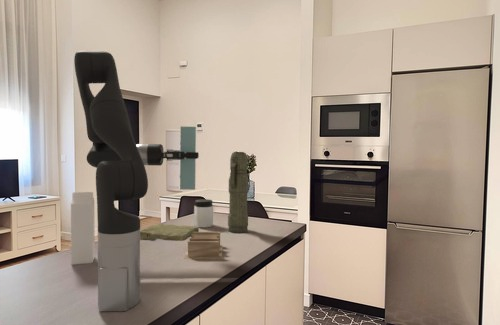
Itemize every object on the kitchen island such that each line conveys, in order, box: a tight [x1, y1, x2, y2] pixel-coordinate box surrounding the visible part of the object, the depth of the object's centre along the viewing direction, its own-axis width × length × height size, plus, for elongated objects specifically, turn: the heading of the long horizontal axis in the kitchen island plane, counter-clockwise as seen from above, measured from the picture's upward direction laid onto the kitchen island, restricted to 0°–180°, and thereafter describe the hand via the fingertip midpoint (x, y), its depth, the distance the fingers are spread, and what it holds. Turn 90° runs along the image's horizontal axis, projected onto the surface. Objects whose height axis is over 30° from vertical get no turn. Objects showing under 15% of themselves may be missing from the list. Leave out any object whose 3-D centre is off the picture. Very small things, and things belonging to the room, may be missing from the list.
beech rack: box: [184, 231, 224, 260], centre depth 118 cm, size 16×12×6 cm
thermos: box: [227, 151, 249, 234], centre depth 151 cm, size 9×12×35 cm
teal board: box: [179, 125, 197, 191], centre depth 120 cm, size 2×5×22 cm, turn 93°
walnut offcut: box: [193, 236, 217, 238], centre depth 118 cm, size 2×8×5 cm, turn 93°
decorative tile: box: [140, 223, 200, 241], centre depth 142 cm, size 19×20×4 cm
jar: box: [193, 198, 214, 229], centre depth 160 cm, size 9×8×12 cm
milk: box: [70, 191, 96, 266], centre depth 108 cm, size 6×6×22 cm
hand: (197, 155), depth 120 cm, fingers closed on teal board, 2 cm apart
